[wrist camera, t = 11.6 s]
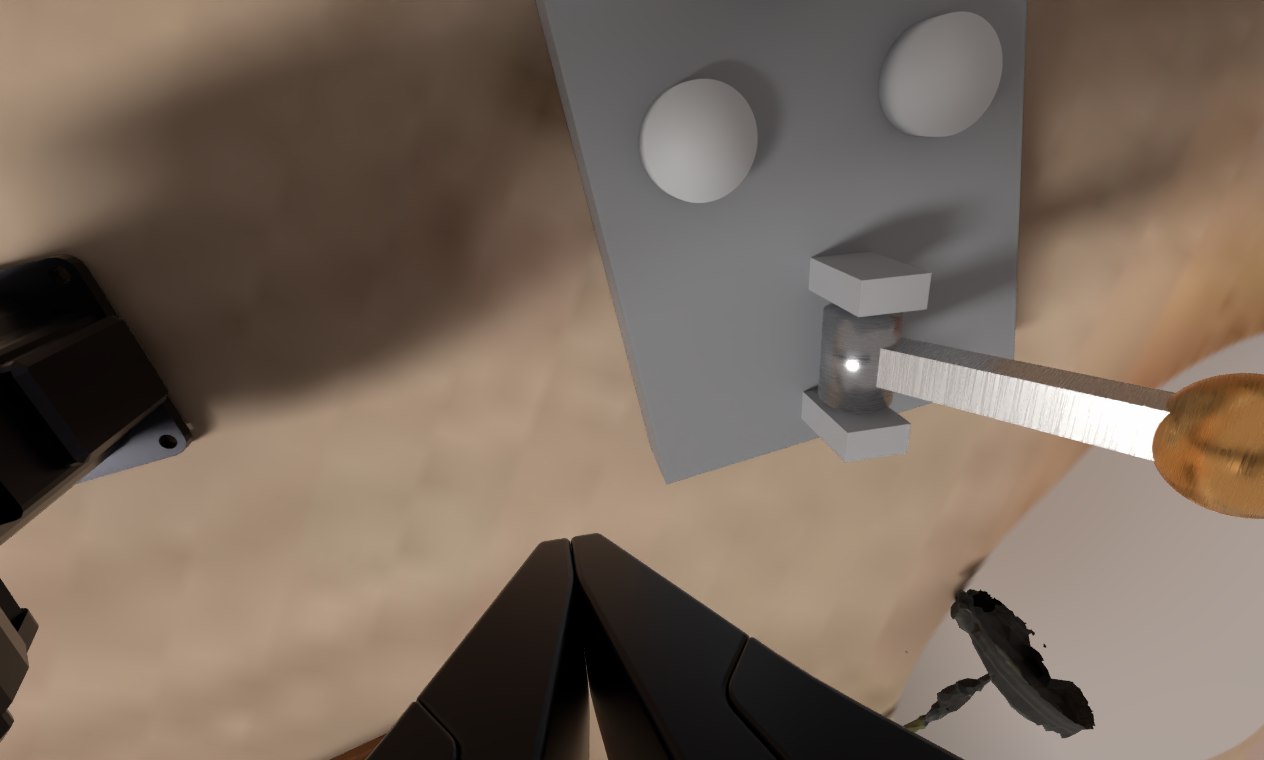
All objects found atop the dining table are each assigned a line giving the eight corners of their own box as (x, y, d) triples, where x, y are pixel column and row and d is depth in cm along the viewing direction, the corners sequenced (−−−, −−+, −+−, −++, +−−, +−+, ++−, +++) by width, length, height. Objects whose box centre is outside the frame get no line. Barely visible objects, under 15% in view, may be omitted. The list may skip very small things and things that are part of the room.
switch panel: (651, 449, 23) (689, 538, 18) (459, -293, 14) (430, -516, 9) (965, 353, 24) (1084, 413, 19) (965, -399, 15) (1186, -654, 10)
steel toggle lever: (797, 406, 19) (1319, 572, 11) (801, 313, 18) (1389, 429, 10) (845, 375, 21) (1322, 501, 13) (853, 290, 19) (1381, 373, 12)
